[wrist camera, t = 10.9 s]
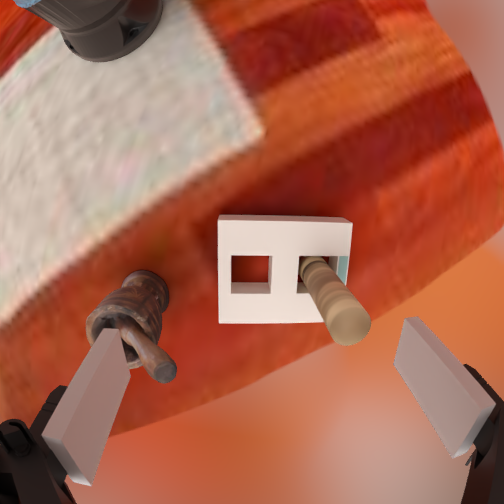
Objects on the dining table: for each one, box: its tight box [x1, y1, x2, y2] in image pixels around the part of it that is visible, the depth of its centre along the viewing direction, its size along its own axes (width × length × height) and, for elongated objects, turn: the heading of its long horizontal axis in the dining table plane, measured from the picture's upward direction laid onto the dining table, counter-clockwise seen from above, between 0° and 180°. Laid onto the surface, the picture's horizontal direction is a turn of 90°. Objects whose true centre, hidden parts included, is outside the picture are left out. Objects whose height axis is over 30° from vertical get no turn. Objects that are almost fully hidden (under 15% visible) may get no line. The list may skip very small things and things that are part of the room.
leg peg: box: [298, 256, 371, 346], centre depth 37 cm, size 4×4×18 cm
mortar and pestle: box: [86, 270, 177, 383], centre depth 36 cm, size 12×9×20 cm
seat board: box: [218, 215, 353, 323], centre depth 43 cm, size 14×17×4 cm
